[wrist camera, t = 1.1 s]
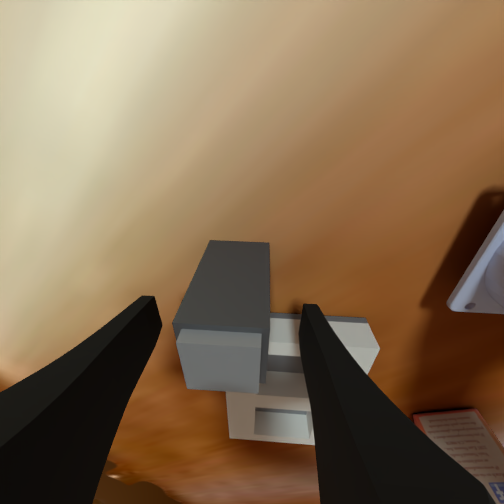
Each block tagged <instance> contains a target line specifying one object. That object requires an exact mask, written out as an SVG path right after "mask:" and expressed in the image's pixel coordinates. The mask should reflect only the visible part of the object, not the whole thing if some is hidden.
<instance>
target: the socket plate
mask: <svg viewBox="0 0 504 504" xmlns="http://www.w3.org/2000/svg"><path fill="white" fill-rule="evenodd" d="M301 315H302V314H286V313H270V337H269V349H268V361H267V373H266V384H264V383H259V394H255V393H241V392H227V391H226V402H227V414H228V425H229V437H230V438H234V439H246V440H259V441H271V442H283V443H295V444H307V445H315V440H314V431H313V422H312V414H311V408H310V402H309V397H308V392H307V387H306V382H305V377H304V371H303V366H302V361H301V356H300V347H299V335H298V332H299V326H300V321H301ZM325 318H326V320H327V321H328V323H329V324H330V326H331V327H332V329H333V330H334V332H335V333H336V335H337V336H338V338H339V339H340V340H341V342H342V343H343V345H344V346H345V347H346V349H347V350H348V351H349V353H350V354H351V355H352V357H353V358H354V359H355V360H356V362H357V363H358V364H359V366H360V367H361V368H362V369H363V370H364V372H365V373H366V374H368V372H369V370H370V368H371V366H372V364H373V362H374V360H375V358H376V356H377V354H378V352H379V350H380V348H379V346H378V344H377V341H376V339H375V337H374V335H373V333H372V331H371V329H370V327H369V325H368V322H367V320H366V318H356V317H339V316H325Z"/></svg>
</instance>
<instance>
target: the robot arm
mask: <svg viewBox="0 0 504 504" xmlns="http://www.w3.org/2000/svg"><path fill="white" fill-rule="evenodd" d="M446 304H447V306H448V307H449V308H450V309H451V310H452V311H456V312H475V313H493V314H504V210H503V212H502V213H501V215H500V217H499V218H498V220H497V221H496V223H495V225H494V226H493V228H492V229H491V231H490V233H489V234H488V236H487V237H486V239H485V241H484V242H483V244H482V245H481V247H480V249H479V250H478V252H477V254H476V255H475V257H474V258H473V260H472V262H471V263H470V265H469V266H468V268H467V270H466V271H465V273H464V274H463V276H462V278H461V279H460V281H459V282H458V284H457V286H456V287H455V289H454V290H453V292H452V294H451V295H450V297H449V298H448V300H447V303H446ZM161 328H162V322H161V318H160V315H159V311H158V307H157V304H156V300H155V297H154V296H141V297H140V298H138V299H137V300H136V301H135V302H133V303H132V304H131V305H130V306H128V307H127V308H126V309H125V310H123V311H122V312H121V313H120V314H118V315H117V316H116V317H115V318H113V319H112V320H111V321H110V322H108V323H107V324H106V325H104V326H103V327H102V328H101V329H99V330H98V331H97V332H95V333H94V334H92V335H91V336H90V337H88V338H87V339H86V340H84V341H83V342H82V343H80V344H79V345H77V346H76V347H75V348H73V349H72V350H70V351H69V352H67V353H66V354H64V355H63V356H61V357H60V358H58V359H56V360H55V361H53V362H52V363H50V364H49V365H47V366H45V367H44V368H42V369H40V370H39V371H37V372H35V373H34V374H32V375H30V376H28V377H27V378H25V379H23V380H22V381H20V382H18V383H16V384H15V385H13V386H11V387H9V388H8V389H6V390H4V391H2V392H0V504H92V503H93V499H94V496H95V493H96V490H97V486H98V483H99V480H100V477H101V474H102V471H103V468H104V465H105V463H106V460H107V457H108V454H109V451H110V448H111V445H112V443H113V440H114V437H115V434H116V432H117V429H118V426H119V424H120V421H121V419H122V416H123V413H124V411H125V408H126V406H127V403H128V401H129V399H130V397H131V394H132V392H133V390H134V388H135V386H136V384H137V382H138V380H139V378H140V376H141V374H142V372H143V370H144V368H145V366H146V364H147V362H148V360H149V358H150V356H151V354H152V352H153V350H154V347H155V345H156V343H157V340H158V337H159V334H160V331H161ZM298 335H299V347H300V356H301V361H302V366H303V371H304V377H305V382H306V387H307V392H308V397H309V402H310V408H311V414H312V422H313V431H314V440H315V450H316V460H317V470H318V481H319V493H320V504H496V503H495V501H494V499H493V498H492V496H491V495H490V493H489V492H488V490H487V489H486V487H485V486H484V484H482V483H481V482H480V481H479V480H478V479H477V478H475V477H474V476H473V475H472V474H471V473H469V472H468V471H467V470H466V469H465V468H463V467H462V466H461V465H460V464H459V463H458V462H456V461H455V460H454V459H453V458H452V457H450V456H449V455H448V454H447V453H446V452H444V451H443V450H442V449H441V448H440V447H439V446H438V445H437V444H435V443H434V442H433V441H432V440H431V439H430V438H429V437H428V436H427V435H426V434H424V433H423V432H422V431H421V430H420V429H419V428H418V427H417V426H416V425H415V424H414V423H413V422H412V421H411V420H410V419H409V418H408V417H407V416H406V415H405V414H404V413H403V412H402V411H401V410H400V409H399V408H398V407H397V406H396V405H395V404H394V403H393V402H392V401H391V400H390V399H389V398H388V397H387V396H386V395H385V394H384V393H383V392H382V391H381V390H380V389H379V388H378V386H377V385H376V384H375V383H374V382H373V381H372V380H371V379H370V377H369V376H368V375H367V374H366V373H365V372H364V370H363V369H362V368H361V367H360V366H359V364H358V363H357V362H356V360H355V359H354V358H353V357H352V355H351V354H350V353H349V351H348V350H347V349H346V347H345V346H344V345H343V343H342V342H341V340H340V339H339V338H338V336H337V335H336V333H335V332H334V330H333V329H332V327H331V326H330V324H329V323H328V321H327V320H326V318H325V316H324V315H323V313H322V311H321V310H320V308H319V306H318V305H317V304H303V310H302V315H301V321H300V326H299V332H298Z"/></svg>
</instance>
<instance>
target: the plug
mask: <svg viewBox="0 0 504 504" xmlns="http://www.w3.org/2000/svg"><path fill="white" fill-rule="evenodd" d="M172 324H173V328H174V332H175V336H176V340H177V341H176V345H177V349H178V353H179V357H180V361H181V365H182V369H183V373H184V377H185V381H186V386H187V389H199V390H213V391H227V392H241V393H255V394H259V383H264V384H266V373H267V361H268V349H269V337H270V260H269V243H264V242H240V241H216V240H210V241H209V244H208V246H207V248H206V250H205V252H204V254H203V257H202V259H201V261H200V263H199V265H198V268H197V270H196V272H195V274H194V276H193V279H192V281H191V283H190V285H189V287H188V289H187V292H186V294H185V296H184V298H183V300H182V303H181V305H180V307H179V309H178V311H177V313H176V316H175V318H174V320H173V322H172Z"/></svg>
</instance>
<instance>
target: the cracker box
mask: <svg viewBox="0 0 504 504" xmlns="http://www.w3.org/2000/svg"><path fill="white" fill-rule="evenodd" d="M413 419H414V424H415V425H416V426H417V427H418V428H419V429H420V430H421V431H422V432H423V433H424V434H426V435H427V436H428V437H429V438H430V439H431V440H432V441H433V442H434V443H435V444H437V445H438V446H439V447H440V448H441V449H442V450H443V451H444V452H446V453H447V454H448V455H449V456H450V457H452V458H453V459H454V460H455V461H456V462H458V463H459V464H460V465H461V466H462V467H463V468H465V469H466V470H467V471H468V472H469V473H471V474H472V475H473V476H474V477H475V478H477V479H478V480H479V481H480V482H481V483H482V484H484V486H485V487H486V489H487V490H488V492H489V493H490V495H491V496H492V498H493V499H494V501H495V503H496V504H504V447H503V446H502V444H501V443H500V441H499V440H498V438H497V437H496V435H495V434H494V433H493V431H492V430H491V428H490V427H489V425H488V424H487V422H486V421H485V420H484V418H483V417H482V415H481V414H480V412H479V411H478V410H477V409H474V408H473V409H464V410H454V411H443V412H432V413H421V414H413Z"/></svg>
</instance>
